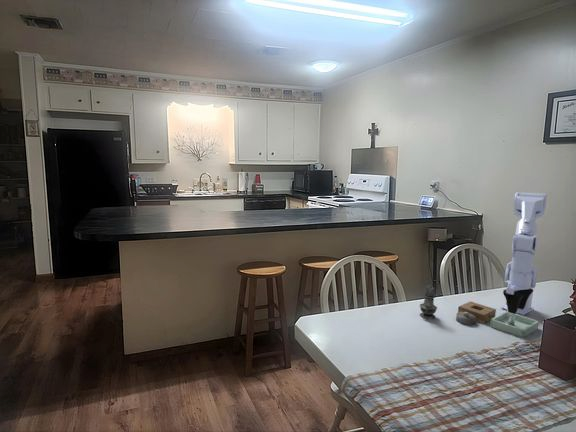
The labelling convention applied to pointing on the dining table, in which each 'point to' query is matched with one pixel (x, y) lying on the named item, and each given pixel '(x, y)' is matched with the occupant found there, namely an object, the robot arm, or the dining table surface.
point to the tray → (521, 325)
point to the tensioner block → (474, 313)
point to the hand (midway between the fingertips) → (515, 310)
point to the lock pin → (510, 318)
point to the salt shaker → (428, 304)
